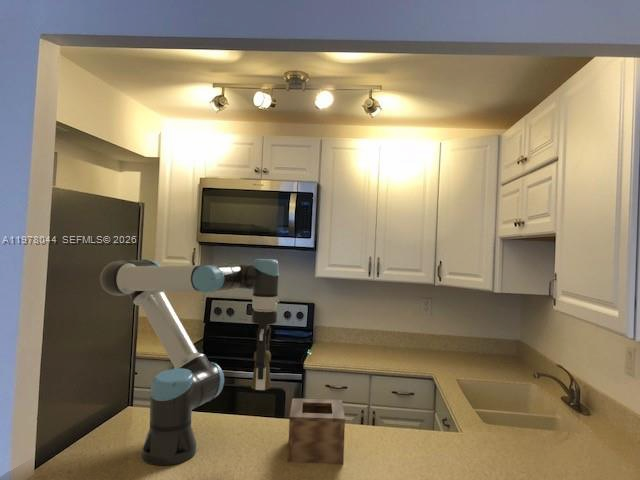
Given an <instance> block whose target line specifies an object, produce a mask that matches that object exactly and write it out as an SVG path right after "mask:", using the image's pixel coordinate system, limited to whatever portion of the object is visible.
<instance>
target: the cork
mask: <svg viewBox="0 0 640 480" xmlns="http://www.w3.org/2000/svg"><path fill="white" fill-rule="evenodd" d="M256 352H257V350H256V351H254V353H253V360H254V361H255V363H254V366H255V365H256ZM270 359H272V355H271V352H270V350H269V351H267V350H266V361H265V365H266V376H265V390H264V391H267V390H269V389H271V388H272V383H271V371H270V362H271V360H270ZM250 388H251V389H253V390H256V368H254V367H253V374H252V380H251V386H250Z"/></svg>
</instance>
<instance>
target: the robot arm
mask: <svg viewBox="0 0 640 480" xmlns="http://www.w3.org/2000/svg"><path fill="white" fill-rule="evenodd" d="M279 271H280V270H279V261H278V260H277V259H270V258H266V259H265V258H256V259H255V260H254V263H253V264H243V263H241V264H240V263H232V262H231V263H222V264H202V265H201V264H200V265H161V264H160V263H159V262H158V261H155V260H151V259H146V258H145V259H144V258H143V259H137V260H136V259H135V260H133V259H132V260H131V259H130V260H123V259H122V260H116V261H112V262H110V263H108V264H106V265H105V266H104V268H103V269H102V270H101V273H100V276H99V282H100V285H101V288H102V289H103V290H104V291H105V292H106V293H107V294H109V295H111V296H118V297H124V296H129V297H130V298H131V301H132V303H133V305H136V306H140V307H141V309H142V311H143V312H144V313H143V314H145V316H146V318H147V319H148V321H149V324H150V325H151V327H152V329H153V330H154V332H155V334H156V336H157V338H158V340H159V342H160V343H161V345H162V347H163V349H164V351H165V352H166V354H167V356H168V358H169V360H170V362H171V364H172V366H173V368H172V369H166V370H163V371H161V372H159V373H158V374H156V375H155V376H154V377H153V379H152V380H151V387H150V392H149V394H150V400H149V401H150V406H149V430H148V432H147V434H146V438H145V440H144V443H143V444H142V445H143V446H142V449H141V450H142V451H141V458H142V460H143V461H144V462H146V463H148V464H149V465H150V464H151V465H153V466H171V465H177V464H180V463H181V464H182V463H185V462H186V461H188V460H190V459H191V458H193V457H194V456H195V455H196V454H197V441H196V438H195V437H196V436H195V434H194V431H193V430H194V429H193V426H192V412H193V410H194V409H196V408H198V407H200V406H202V405H204V404H205V403H209V402H211V401H212V400H214V399H215V398H216V397H218V396H219V395H220V393H221V392H222V391H223V389H224V384H225V375H224V371H223V370H222V368H221V367H220V364H219V365H218V364H217V363H216V362H213V361H209V359H208V357H207V356H206V354H204V353H201V352H199V351H198V350H197V348H196V346H195V344H194V343H193V341H192V339H191V337H190V335H189V334H188V332H187V331H186V328H185V327H184V325H183V323H182V321H181V320H180V318H179V317H178V314H177V313H176V311H175V309H174V307H173V306H172V304H171V302H170V300H169V299H168V297H167V295H166V292H201V293H214V292H218V291H219V292H220V291H225V290H226V291H228V290H233V289H235V290H236V289H244V290H247V289H248V290H252V303H251V304H252V309H253V310H252V312H251V322H252V323H253V324H256V325H259V326H258V327H257V329H256V351H257V352H256V351H255V352H256V365H255V364H254V365H253V369H254V368H256V390H257V391H266V390H265V376H266V365H265V361H266V350H267V351H269V352H270V340H271V334H272V333H271V332H272V328H271V326H270V325H274V324H276V323H277V321H278V319H277V318H278V312H277V309H278V303H280V299H278V291H279V290H278V289H279V276H280V273H279ZM271 359H272V358H271ZM271 359H270V361H271Z"/></svg>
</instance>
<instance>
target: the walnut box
mask: <svg viewBox="0 0 640 480" xmlns="http://www.w3.org/2000/svg"><path fill="white" fill-rule="evenodd" d="M343 403H344V402H343V399H329V398H326V399H325V398H323V399H322V398H297V397H296V398H292V400H291V406H290V411H289V422H288V424H289V425H288V447H287V448H288V449H287V451H288V453H287V463H297V464H299V463H300V464H302V463H303V464H304V463H305V464H329V465H330V464H331V465H332V464H333V465H344V462H345V461H344V460H345V459H344V456H345V455H344V454H345V453H344V452H345V431H346V430H345V427H346V418H345V410H344V406H343Z"/></svg>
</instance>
